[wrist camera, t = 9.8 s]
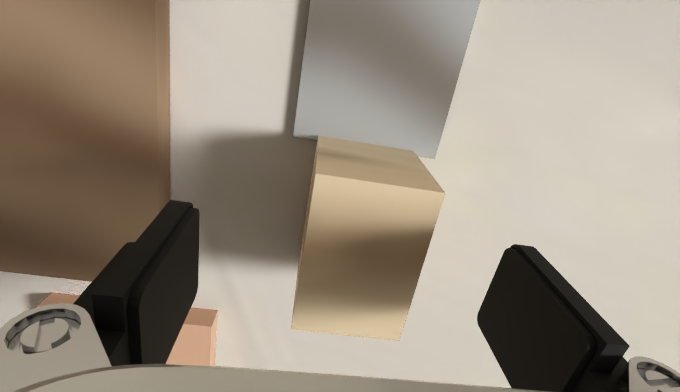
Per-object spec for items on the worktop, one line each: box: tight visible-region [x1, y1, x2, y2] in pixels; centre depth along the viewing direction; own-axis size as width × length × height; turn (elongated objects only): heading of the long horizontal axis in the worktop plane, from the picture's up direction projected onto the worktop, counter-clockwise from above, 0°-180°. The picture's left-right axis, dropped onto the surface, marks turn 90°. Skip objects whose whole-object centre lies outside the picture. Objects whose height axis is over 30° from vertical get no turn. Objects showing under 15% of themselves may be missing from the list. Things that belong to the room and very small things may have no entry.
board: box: [0, 0, 170, 281], centre depth 14 cm, size 14×12×1 cm
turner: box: [291, 0, 480, 341], centre depth 13 cm, size 13×6×5 cm, turn 170°
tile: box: [37, 293, 218, 366], centre depth 19 cm, size 6×2×8 cm
